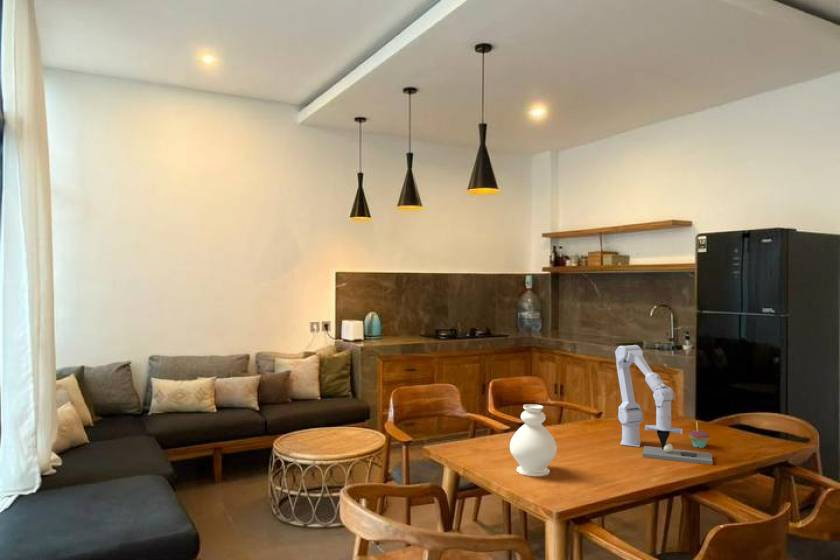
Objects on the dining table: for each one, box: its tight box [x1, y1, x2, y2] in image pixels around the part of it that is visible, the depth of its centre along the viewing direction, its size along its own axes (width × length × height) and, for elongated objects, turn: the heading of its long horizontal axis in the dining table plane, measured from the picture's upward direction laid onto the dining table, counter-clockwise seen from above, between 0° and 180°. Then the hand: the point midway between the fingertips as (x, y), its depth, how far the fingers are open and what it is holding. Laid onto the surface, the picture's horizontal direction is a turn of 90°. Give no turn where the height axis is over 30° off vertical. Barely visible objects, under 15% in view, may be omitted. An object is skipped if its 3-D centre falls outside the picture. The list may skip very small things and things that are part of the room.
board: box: [642, 445, 714, 466], centre depth 244 cm, size 12×26×2 cm, turn 67°
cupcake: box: [688, 419, 710, 449], centre depth 259 cm, size 9×8×12 cm
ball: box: [664, 442, 674, 453], centre depth 246 cm, size 4×4×4 cm
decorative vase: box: [509, 403, 558, 477], centre depth 226 cm, size 18×18×25 cm
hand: (663, 448), depth 246 cm, fingers closed, pressing on ball
